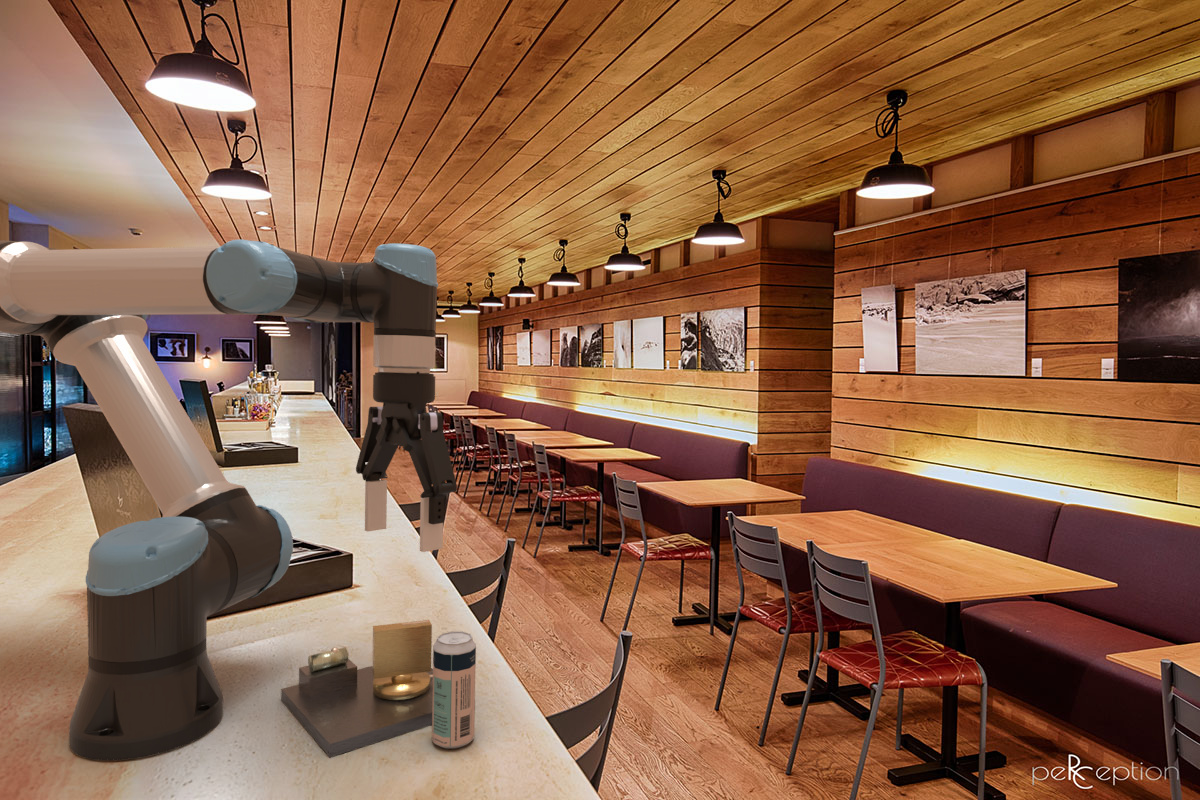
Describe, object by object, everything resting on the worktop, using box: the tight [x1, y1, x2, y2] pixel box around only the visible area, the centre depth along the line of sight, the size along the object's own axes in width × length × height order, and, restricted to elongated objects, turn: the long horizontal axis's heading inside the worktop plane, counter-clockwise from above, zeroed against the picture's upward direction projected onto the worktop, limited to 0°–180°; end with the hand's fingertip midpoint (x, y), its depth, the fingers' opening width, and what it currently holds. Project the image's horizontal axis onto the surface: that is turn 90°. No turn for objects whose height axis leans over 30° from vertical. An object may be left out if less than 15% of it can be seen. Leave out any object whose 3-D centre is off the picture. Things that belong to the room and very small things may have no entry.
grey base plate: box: [280, 646, 433, 758], centre depth 92 cm, size 18×17×6 cm
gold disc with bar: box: [372, 619, 433, 700], centre depth 93 cm, size 7×9×8 cm
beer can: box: [431, 631, 477, 750], centre depth 83 cm, size 5×5×12 cm
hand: (402, 539), depth 92 cm, fingers open, 13 cm apart
